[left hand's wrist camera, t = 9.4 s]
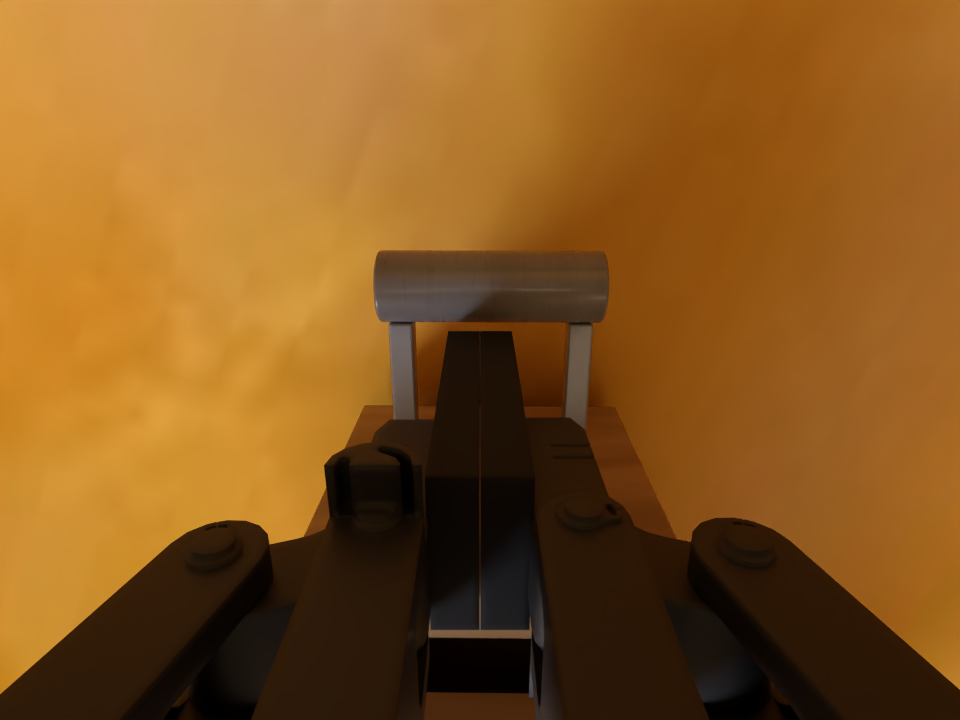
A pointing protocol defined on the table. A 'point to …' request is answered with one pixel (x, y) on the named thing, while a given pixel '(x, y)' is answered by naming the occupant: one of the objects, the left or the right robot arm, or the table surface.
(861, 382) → the table surface
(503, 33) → the table surface
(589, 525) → the left robot arm
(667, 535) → the drawer
